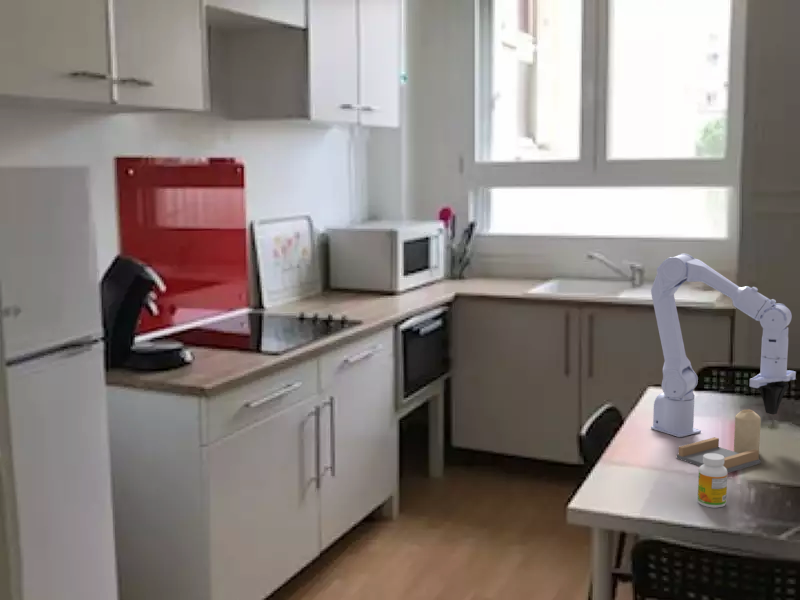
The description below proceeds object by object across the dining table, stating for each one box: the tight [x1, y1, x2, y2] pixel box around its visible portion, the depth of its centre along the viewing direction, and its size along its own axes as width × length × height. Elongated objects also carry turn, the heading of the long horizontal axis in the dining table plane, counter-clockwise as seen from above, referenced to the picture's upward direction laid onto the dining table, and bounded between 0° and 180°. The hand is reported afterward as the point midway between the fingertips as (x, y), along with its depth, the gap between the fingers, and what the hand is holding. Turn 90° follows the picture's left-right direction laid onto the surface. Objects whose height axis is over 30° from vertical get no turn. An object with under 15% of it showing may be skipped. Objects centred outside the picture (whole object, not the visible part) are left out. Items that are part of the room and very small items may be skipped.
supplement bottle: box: [697, 453, 728, 509], centre depth 183 cm, size 5×5×10 cm
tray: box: [676, 437, 761, 474], centre depth 208 cm, size 13×12×3 cm
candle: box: [733, 408, 762, 453], centre depth 213 cm, size 6×6×10 cm
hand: (771, 413), depth 217 cm, fingers closed
